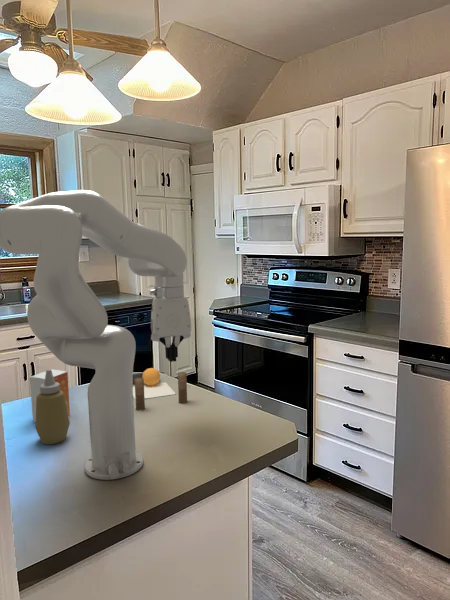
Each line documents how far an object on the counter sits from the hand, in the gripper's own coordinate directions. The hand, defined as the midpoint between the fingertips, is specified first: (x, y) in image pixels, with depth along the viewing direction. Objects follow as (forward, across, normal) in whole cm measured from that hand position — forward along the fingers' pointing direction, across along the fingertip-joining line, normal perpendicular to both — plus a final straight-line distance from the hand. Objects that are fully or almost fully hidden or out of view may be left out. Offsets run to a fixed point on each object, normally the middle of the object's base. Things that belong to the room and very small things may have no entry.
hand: (171, 360), depth 124 cm
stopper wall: (+17, 0, +37) cm, 41 cm away
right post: (+17, +7, +13) cm, 22 cm away
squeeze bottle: (+17, -31, +1) cm, 36 cm away
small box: (+17, -31, +16) cm, 39 cm away
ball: (+14, +1, +33) cm, 36 cm away
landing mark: (+17, 0, +27) cm, 32 cm away
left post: (+17, -7, +13) cm, 22 cm away
